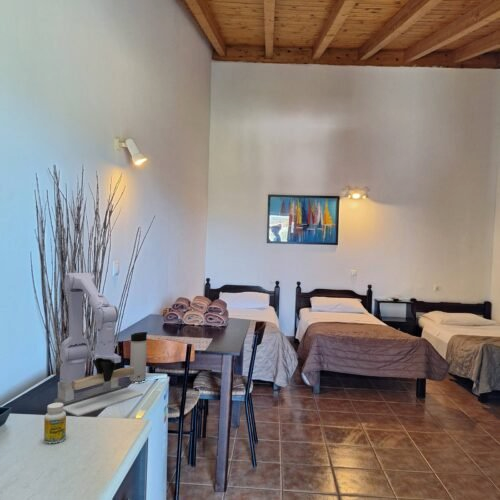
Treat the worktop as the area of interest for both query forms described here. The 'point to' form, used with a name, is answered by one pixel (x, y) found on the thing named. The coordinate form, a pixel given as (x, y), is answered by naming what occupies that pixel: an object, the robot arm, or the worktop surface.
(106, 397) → the mat
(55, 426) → the supplement bottle
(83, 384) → the rail
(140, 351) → the travel mug
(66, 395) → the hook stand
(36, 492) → the worktop surface
